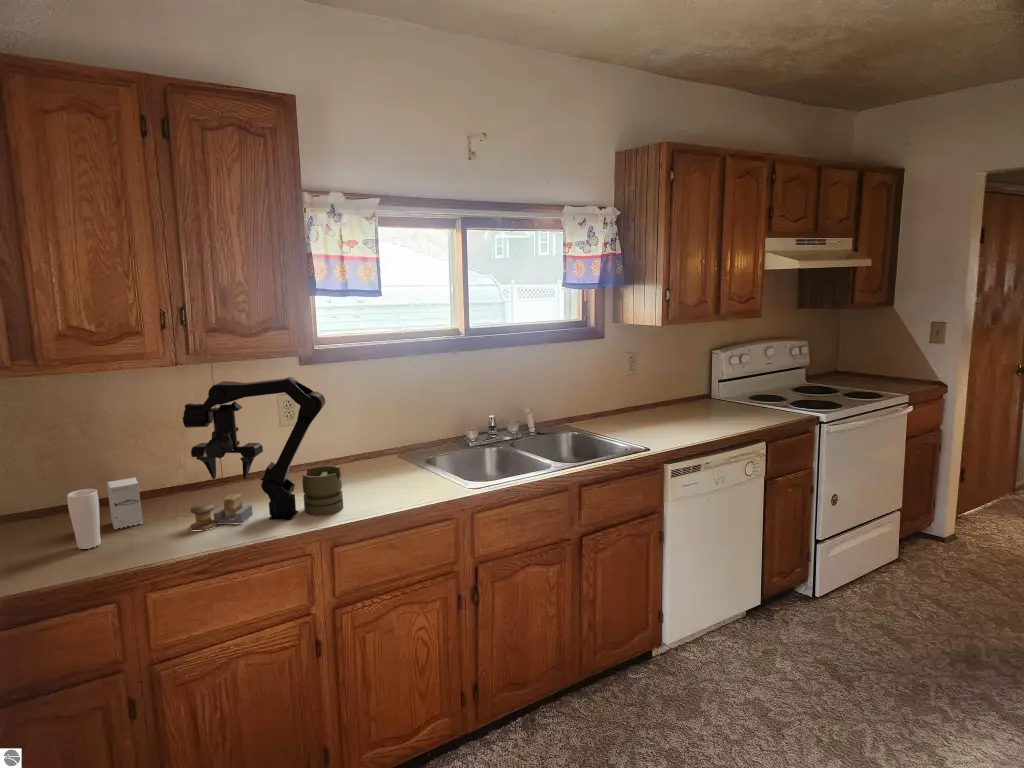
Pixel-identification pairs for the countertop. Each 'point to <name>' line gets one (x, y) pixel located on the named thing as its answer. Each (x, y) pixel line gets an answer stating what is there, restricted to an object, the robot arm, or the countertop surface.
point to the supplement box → (124, 503)
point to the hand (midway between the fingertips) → (229, 478)
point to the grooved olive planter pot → (322, 490)
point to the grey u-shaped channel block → (239, 515)
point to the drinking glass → (85, 517)
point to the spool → (203, 517)
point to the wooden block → (232, 505)
